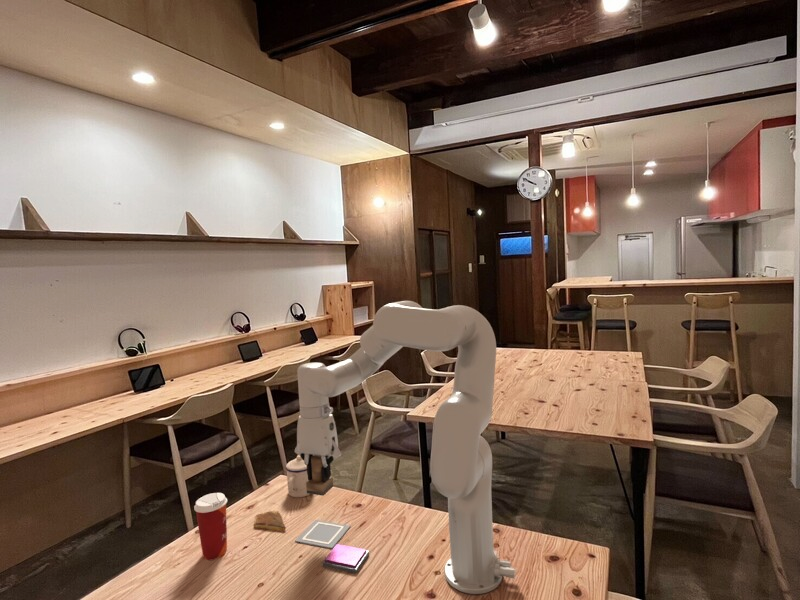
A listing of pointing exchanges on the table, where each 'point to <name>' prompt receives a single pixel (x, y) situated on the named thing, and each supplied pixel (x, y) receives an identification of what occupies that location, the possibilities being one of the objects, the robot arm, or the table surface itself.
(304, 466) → the teacup with lid
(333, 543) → the marked card
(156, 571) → the table surface
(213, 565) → the table surface
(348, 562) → the ink pad
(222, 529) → the paper cup
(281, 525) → the shard
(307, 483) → the stamp
